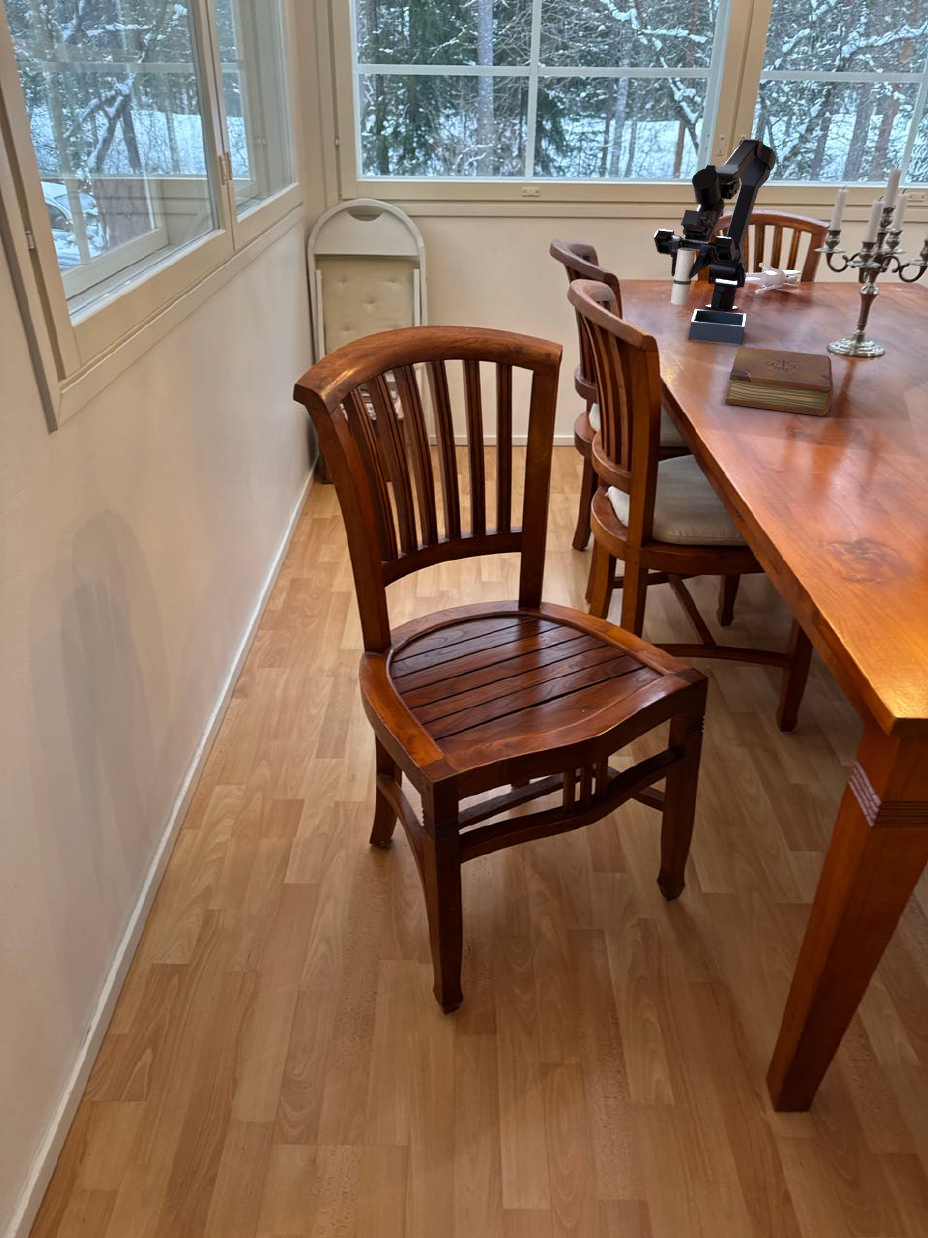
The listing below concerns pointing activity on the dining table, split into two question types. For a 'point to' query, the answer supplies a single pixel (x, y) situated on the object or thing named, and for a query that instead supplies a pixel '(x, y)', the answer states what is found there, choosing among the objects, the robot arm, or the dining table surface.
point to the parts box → (717, 326)
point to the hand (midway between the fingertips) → (680, 276)
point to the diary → (781, 381)
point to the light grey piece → (682, 276)
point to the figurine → (773, 279)
